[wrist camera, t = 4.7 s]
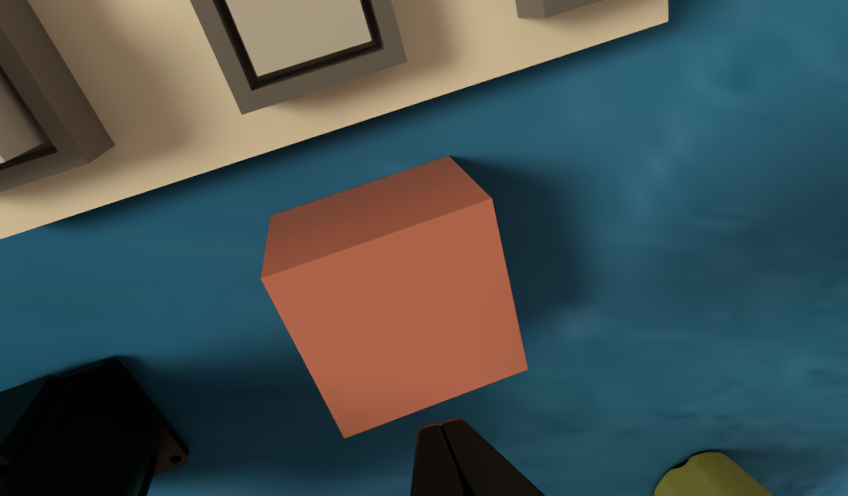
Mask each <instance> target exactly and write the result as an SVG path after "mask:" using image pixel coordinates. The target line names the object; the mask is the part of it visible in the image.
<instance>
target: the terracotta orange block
mask: <svg viewBox="0 0 848 496" xmlns="http://www.w3.org/2000/svg"><path fill="white" fill-rule="evenodd" d="M261 280H262V282H263V284H264V286H265V288H266V289H267V291H268V293H269V295H270V297H271V299H272V301H273V303H274V305H275V307H276V309H277V311H278V312H279V314H280V316H281V318H282V320H283V322H284V324H285V326H286V328H287V330H288V332H289V333H290V335H291V337H292V339H293V341H294V343H295V345H296V347H297V349H298V351H299V353H300V355H301V356H302V358H303V360H304V362H305V364H306V366H307V368H308V370H309V372H310V374H311V376H312V377H313V379H314V381H315V383H316V385H317V387H318V389H319V391H320V393H321V395H322V397H323V399H324V400H325V402H326V404H327V406H328V408H329V410H330V412H331V414H332V416H333V418H334V420H335V421H336V423H337V425H338V427H339V429H340V431H341V433H342V435H343V437H344V439H345V438H348V437H350V436H353V435H355V434H358V433H361V432H363V431H366V430H369V429H371V428H374V427H377V426H379V425H382V424H385V423H387V422H390V421H393V420H395V419H398V418H400V417H403V416H406V415H408V414H411V413H414V412H416V411H419V410H422V409H424V408H427V407H430V406H432V405H435V404H437V403H440V402H443V401H445V400H448V399H451V398H453V397H456V396H459V395H461V394H464V393H467V392H469V391H472V390H475V389H477V388H480V387H482V386H485V385H488V384H490V383H493V382H496V381H498V380H501V379H504V378H506V377H509V376H512V375H514V374H517V373H519V372H522V371H525V370H527V369H528V368H527V363H526V358H525V354H524V349H523V344H522V339H521V334H520V330H519V325H518V320H517V315H516V311H515V306H514V301H513V296H512V292H511V287H510V282H509V277H508V272H507V268H506V263H505V258H504V253H503V249H502V244H501V239H500V234H499V229H498V225H497V220H496V215H495V210H494V206H493V201H492V198H491V197H490V196H489V195H488V194H487V193H486V192H485V191H484V190H483V189H482V188H481V187H480V186H479V185H478V184H477V183H476V182H475V181H474V180H473V179H472V178H471V177H470V176H469V175H468V174H467V173H466V172H465V171H464V170H463V169H462V168H461V167H460V166H459V165H458V164H457V163H456V162H454V161H453V160H452V159H451V158H450V157H449V156H447V157H444V158H441V159H438V160H435V161H432V162H429V163H426V164H423V165H420V166H417V167H414V168H411V169H408V170H405V171H402V172H399V173H396V174H393V175H390V176H387V177H384V178H381V179H378V180H375V181H372V182H369V183H367V184H364V185H361V186H358V187H355V188H352V189H349V190H346V191H343V192H340V193H337V194H334V195H331V196H328V197H325V198H322V199H319V200H316V201H313V202H310V203H307V204H304V205H301V206H298V207H295V208H292V209H289V210H286V211H283V212H280V213H277V214H274V215H271V218H270V225H269V231H268V237H267V243H266V250H265V256H264V262H263V268H262V275H261Z"/></svg>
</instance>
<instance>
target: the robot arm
mask: <svg viewBox="0 0 848 496" xmlns="http://www.w3.org/2000/svg"><path fill="white" fill-rule="evenodd" d="M104 370H110V371H112V372H113V373H107V372H105V371H104ZM174 455H178V456H174ZM188 455H189V449H188V448H187V446H186V445H185V444H184V443H183V441H182V440H181V439H180V437H179V436H178V435H177V434H176V432H175V431H174V430H173V428H172V427H171V426H170V425H169V423H168V422H167V421H166V420H165V418H164V417H163V416H162V414H161V413H160V412H159V411H158V409H157V408H156V407H155V405H154V404H153V403H152V402H151V400H150V399H149V398H148V397H147V395H146V394H145V393H144V391H143V390H142V389H141V388H140V386H139V385H138V384H137V382H136V381H135V380H134V379H133V377H132V376H131V375H130V374H129V372H128V371H127V370H126V368H125V367H124V366H123V365H122V364H121V363H120V362H119V361H117V360H115V359H103V360H100V361H97V362H94V363H91V364H89V365H86V366H83V367H80V368H77V369H74V370H71V371H69V372H66V373H63V374H60V375H48V376H45V377H42V378H39V379H36V380H33V381H30V382H28V383H25V384H22V385H19V386H16V387H13V388H10V389H8V390H5V391H2V392H0V496H147V493H148V490H149V487H150V484H151V481H152V478H153V476H155V475H158V474H160V473H163V472H166V471H169V470H171V469H174V468H177V467H179V466H182V465H183V464H185V463H186V462H187V459H188ZM410 496H545V495H544V494H543V493H542V492H541V491H540V490H539V489H538V488H537V487H536V486H534V485H533V484H532V483H531V482H530V481H529V480H528V479H527V478H526V477H525V476H524V475H523V474H522V473H520V472H519V471H518V470H517V469H516V468H515V467H514V466H513V465H512V464H511V463H510V462H509V461H508V460H506V459H505V458H504V457H503V456H502V455H501V454H500V453H499V452H498V451H497V450H496V449H495V448H494V447H492V446H491V445H490V444H489V443H488V442H487V441H486V440H485V439H484V438H483V437H482V436H481V435H480V434H478V433H477V432H476V431H475V430H474V429H473V428H472V427H471V426H470V425H469V424H468V423H467V422H466V421H464V420H463V419H462V418H455V419H451V420H447V421H444V422H442V423H441V425H439V424H437V423H436V424H431V425H427V426H424V427H420V428H419V430H418V434H417V443H416V451H415V460H414V468H413V477H412V485H411V494H410Z"/></svg>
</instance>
